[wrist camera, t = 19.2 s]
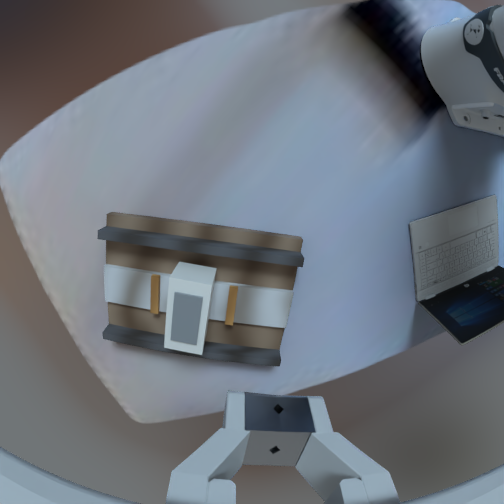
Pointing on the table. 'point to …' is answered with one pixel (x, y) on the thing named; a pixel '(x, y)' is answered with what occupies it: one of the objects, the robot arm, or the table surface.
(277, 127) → the table surface
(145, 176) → the table surface
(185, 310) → the block
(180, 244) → the rail board
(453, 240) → the laptop
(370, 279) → the table surface
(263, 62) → the table surface
